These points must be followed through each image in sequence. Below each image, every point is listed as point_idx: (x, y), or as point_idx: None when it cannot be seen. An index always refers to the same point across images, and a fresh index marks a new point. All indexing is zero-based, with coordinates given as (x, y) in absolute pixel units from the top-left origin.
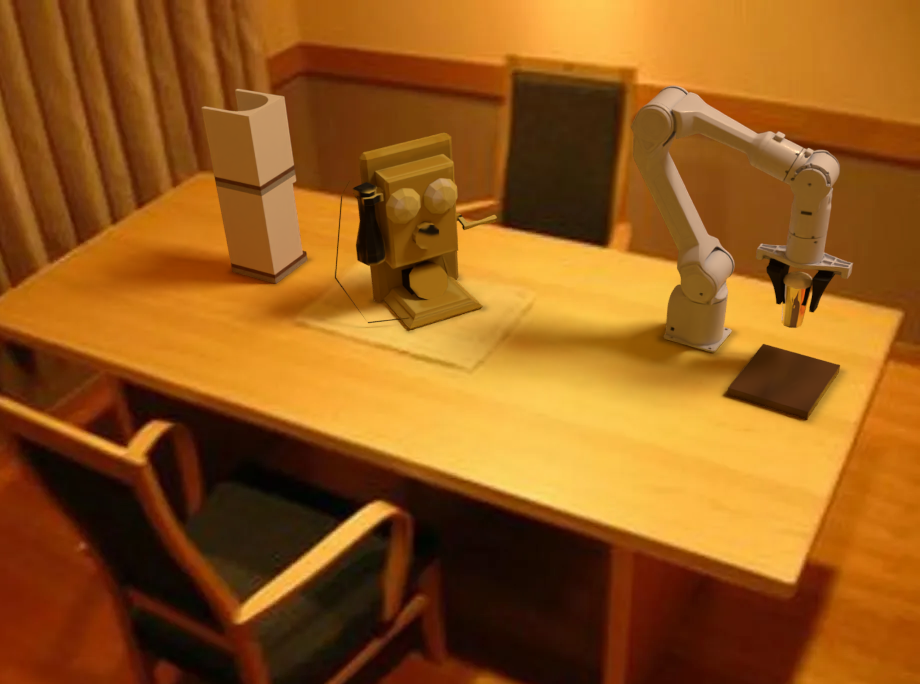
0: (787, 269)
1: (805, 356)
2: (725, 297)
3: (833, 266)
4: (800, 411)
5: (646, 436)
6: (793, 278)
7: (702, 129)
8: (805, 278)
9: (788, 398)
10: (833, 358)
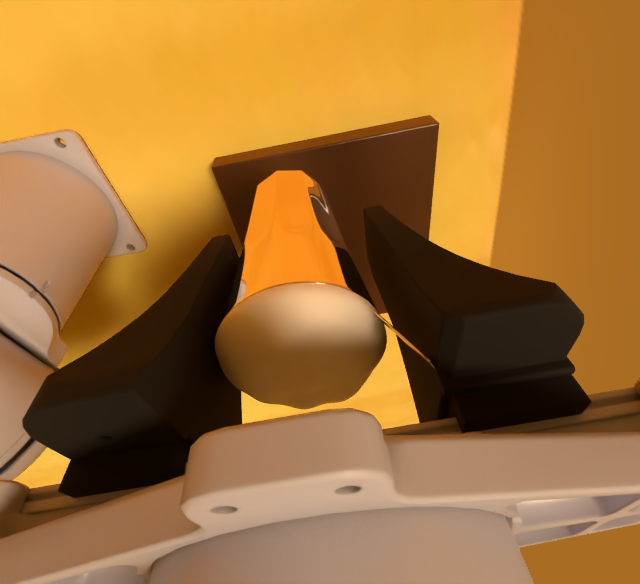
0: (194, 362)
1: (340, 148)
2: (42, 303)
3: (601, 529)
4: None
5: (257, 414)
6: (298, 406)
7: None
8: (350, 373)
9: (378, 299)
10: (394, 46)
